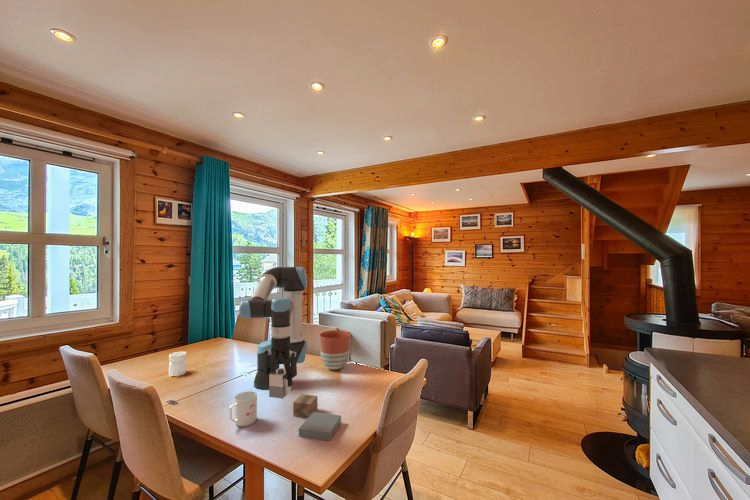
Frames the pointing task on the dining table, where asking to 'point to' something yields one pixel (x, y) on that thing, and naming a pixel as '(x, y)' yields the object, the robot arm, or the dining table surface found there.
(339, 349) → the planter
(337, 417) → the slate stand
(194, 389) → the dining table surface
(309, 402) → the walnut stand
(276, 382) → the block
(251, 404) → the mug
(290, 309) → the robot arm
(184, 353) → the white lidded jar
